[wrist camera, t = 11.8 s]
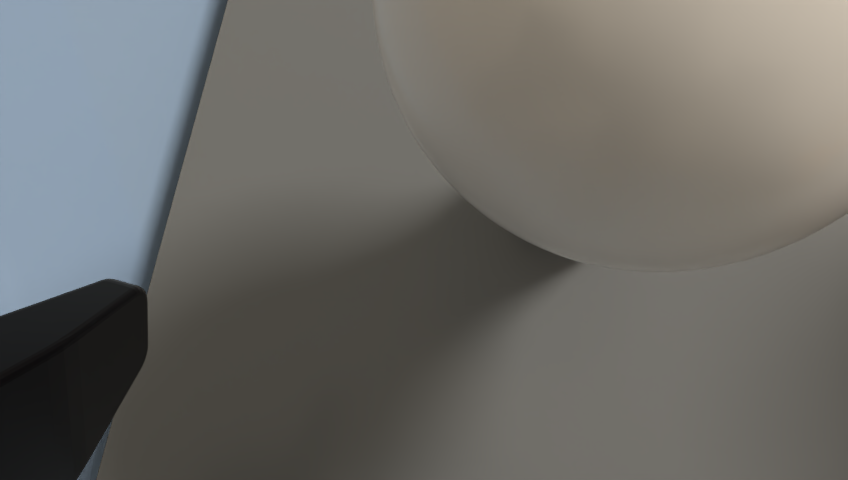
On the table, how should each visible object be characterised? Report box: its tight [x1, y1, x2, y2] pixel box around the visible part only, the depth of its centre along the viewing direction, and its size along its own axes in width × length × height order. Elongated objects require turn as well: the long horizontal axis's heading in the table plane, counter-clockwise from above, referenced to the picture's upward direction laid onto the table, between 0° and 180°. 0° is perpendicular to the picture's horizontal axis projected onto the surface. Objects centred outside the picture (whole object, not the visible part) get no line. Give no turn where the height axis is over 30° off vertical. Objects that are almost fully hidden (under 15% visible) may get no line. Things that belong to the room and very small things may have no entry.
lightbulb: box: [372, 0, 848, 273], centre depth 11 cm, size 6×6×11 cm
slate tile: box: [96, 0, 848, 480], centre depth 17 cm, size 16×16×1 cm
